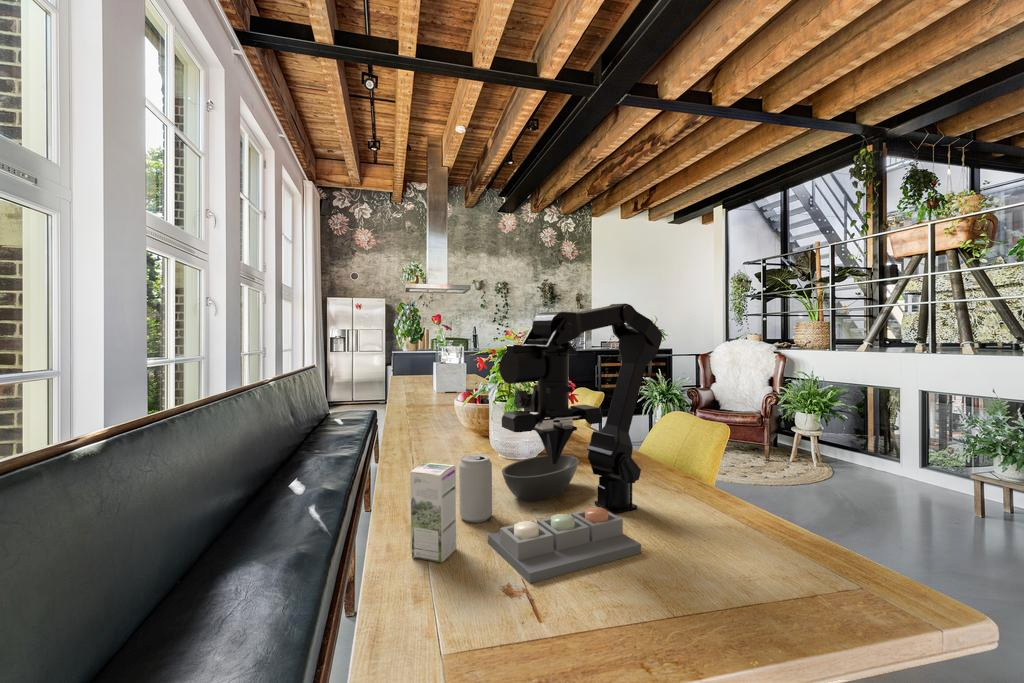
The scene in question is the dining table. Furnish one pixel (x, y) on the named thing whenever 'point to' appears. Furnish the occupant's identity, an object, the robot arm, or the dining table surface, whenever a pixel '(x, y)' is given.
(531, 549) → the panel
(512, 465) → the bowl
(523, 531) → the cream button
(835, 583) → the dining table surface
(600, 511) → the rust button
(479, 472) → the beverage can
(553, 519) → the sage button
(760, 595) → the dining table surface
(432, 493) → the syrup box
